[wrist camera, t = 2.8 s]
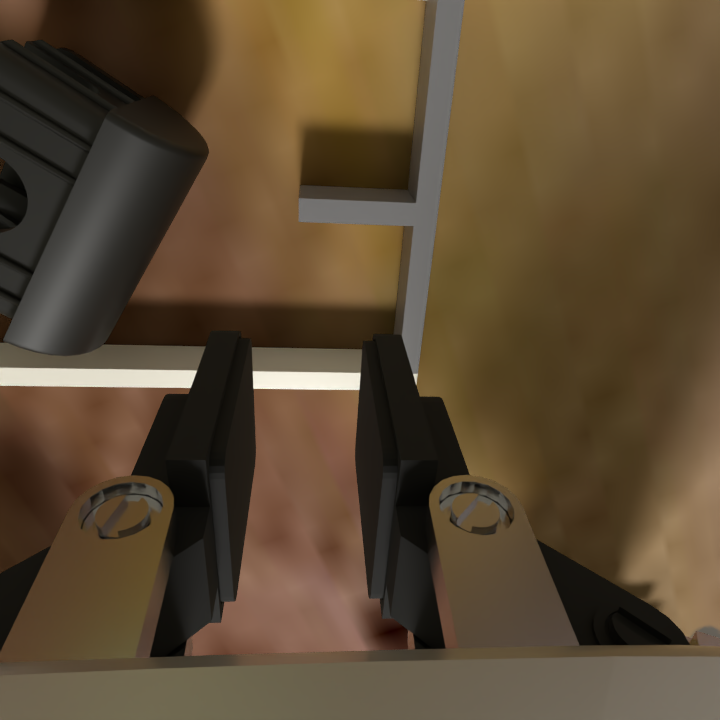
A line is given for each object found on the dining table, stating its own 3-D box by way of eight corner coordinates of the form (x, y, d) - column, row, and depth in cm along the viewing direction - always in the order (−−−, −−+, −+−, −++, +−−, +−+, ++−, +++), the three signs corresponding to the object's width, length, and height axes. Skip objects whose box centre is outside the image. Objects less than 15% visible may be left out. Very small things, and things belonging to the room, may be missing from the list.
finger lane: (454, -28, 22) (496, -48, 17) (408, 366, 31) (427, 431, 26) (-327, -90, 20) (-554, -136, 15) (-138, 357, 29) (-239, 427, 24)
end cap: (127, 311, 29) (79, 380, 23) (-18, 233, 26) (-114, 289, 20) (223, 137, 25) (196, 167, 19) (64, 29, 23) (-24, 26, 17)
